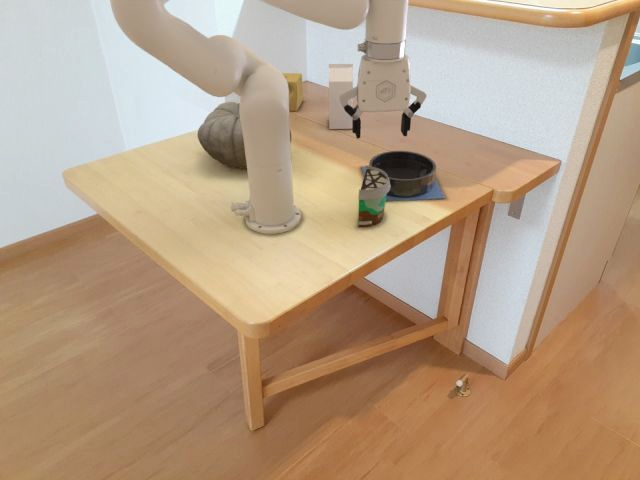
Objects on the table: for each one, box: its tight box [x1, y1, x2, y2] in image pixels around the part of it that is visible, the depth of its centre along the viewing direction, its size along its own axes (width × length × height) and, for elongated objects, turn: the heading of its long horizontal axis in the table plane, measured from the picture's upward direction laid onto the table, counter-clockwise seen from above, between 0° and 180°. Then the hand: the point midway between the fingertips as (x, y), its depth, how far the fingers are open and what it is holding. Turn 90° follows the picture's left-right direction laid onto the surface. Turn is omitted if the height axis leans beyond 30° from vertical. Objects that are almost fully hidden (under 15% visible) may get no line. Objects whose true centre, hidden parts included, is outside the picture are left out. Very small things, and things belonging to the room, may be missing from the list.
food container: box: [357, 165, 390, 228], centre depth 114 cm, size 12×6×10 cm, turn 168°
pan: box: [368, 150, 437, 198], centre depth 129 cm, size 16×16×5 cm
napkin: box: [360, 166, 446, 202], centre depth 130 cm, size 18×18×1 cm
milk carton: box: [328, 63, 354, 130], centre depth 156 cm, size 7×7×19 cm
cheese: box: [281, 72, 304, 112], centre depth 174 cm, size 10×11×10 cm
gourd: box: [197, 101, 292, 169], centre depth 138 cm, size 25×25×17 cm
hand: (380, 134), depth 106 cm, fingers open, 9 cm apart
